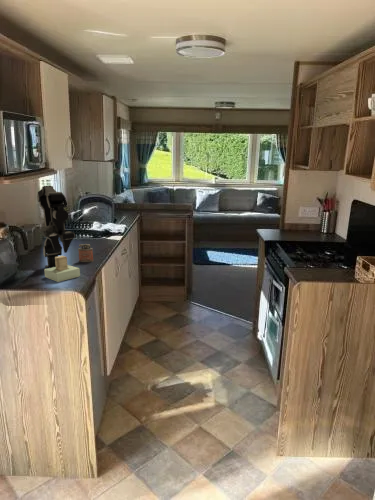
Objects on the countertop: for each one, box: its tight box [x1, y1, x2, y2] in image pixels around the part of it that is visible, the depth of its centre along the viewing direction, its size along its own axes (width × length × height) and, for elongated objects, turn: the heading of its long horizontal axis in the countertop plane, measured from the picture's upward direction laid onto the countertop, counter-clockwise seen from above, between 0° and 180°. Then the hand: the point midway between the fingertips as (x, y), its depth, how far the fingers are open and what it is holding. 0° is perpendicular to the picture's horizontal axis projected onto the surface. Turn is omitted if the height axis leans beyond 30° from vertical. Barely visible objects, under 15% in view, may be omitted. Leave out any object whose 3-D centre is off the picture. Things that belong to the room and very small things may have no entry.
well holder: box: [44, 264, 81, 283], centre depth 187 cm, size 12×12×4 cm
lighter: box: [77, 243, 94, 263], centre depth 216 cm, size 8×3×10 cm, turn 92°
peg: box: [55, 255, 69, 271], centre depth 187 cm, size 4×4×10 cm
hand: (60, 251), depth 185 cm, fingers open, 9 cm apart
